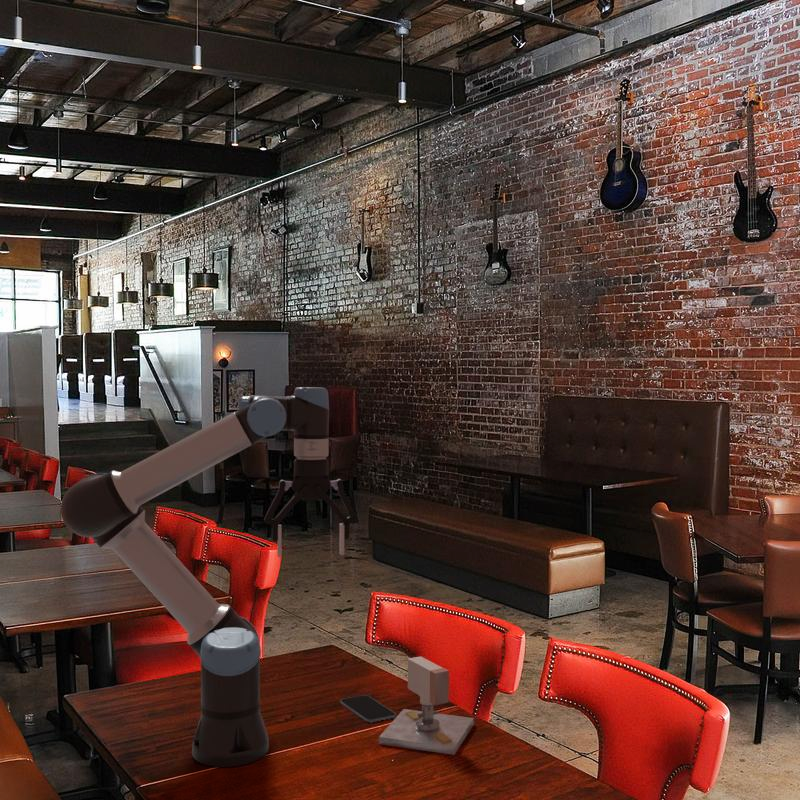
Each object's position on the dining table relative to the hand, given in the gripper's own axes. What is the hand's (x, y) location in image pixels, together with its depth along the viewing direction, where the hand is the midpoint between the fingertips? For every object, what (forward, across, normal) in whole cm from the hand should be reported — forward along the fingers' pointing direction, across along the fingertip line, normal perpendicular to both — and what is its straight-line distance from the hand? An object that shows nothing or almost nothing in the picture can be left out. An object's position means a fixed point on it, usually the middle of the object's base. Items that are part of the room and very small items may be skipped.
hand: (310, 555), depth 192 cm
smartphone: (+37, +13, +4) cm, 40 cm away
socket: (+36, +24, -12) cm, 45 cm away
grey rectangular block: (+29, +24, -12) cm, 40 cm away
